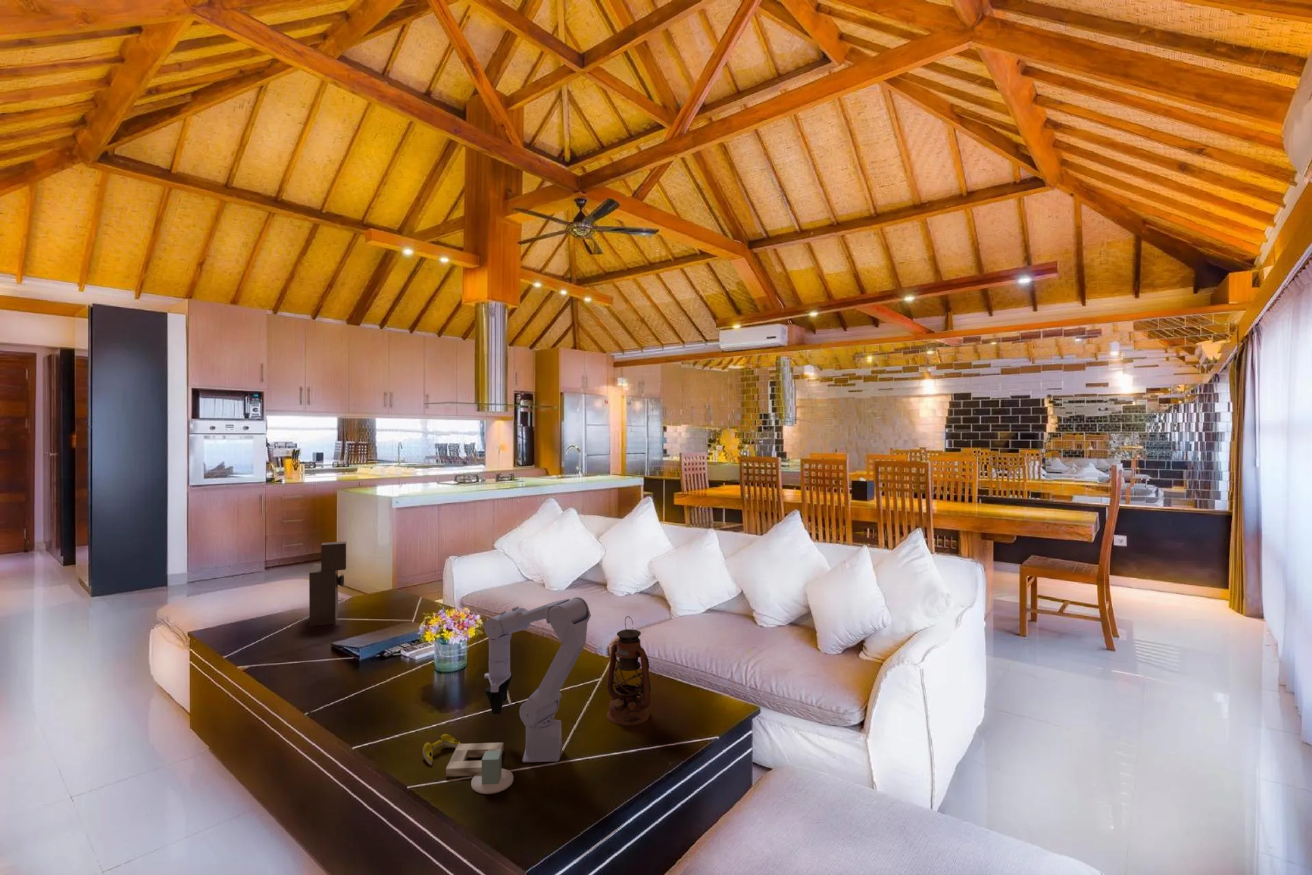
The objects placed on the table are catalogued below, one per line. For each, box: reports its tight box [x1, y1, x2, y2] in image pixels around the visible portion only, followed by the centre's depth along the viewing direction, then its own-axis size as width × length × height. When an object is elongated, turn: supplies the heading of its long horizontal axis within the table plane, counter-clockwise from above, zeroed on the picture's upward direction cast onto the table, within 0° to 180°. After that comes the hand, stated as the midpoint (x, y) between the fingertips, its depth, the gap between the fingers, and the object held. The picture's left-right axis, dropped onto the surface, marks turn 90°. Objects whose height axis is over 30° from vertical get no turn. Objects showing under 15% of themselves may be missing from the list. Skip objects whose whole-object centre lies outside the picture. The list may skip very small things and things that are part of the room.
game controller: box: [422, 733, 462, 766], centre depth 164 cm, size 10×6×4 cm, turn 148°
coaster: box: [470, 768, 514, 795], centre depth 151 cm, size 10×10×1 cm
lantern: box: [606, 615, 652, 727], centre depth 186 cm, size 17×13×30 cm
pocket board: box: [445, 742, 504, 777], centre depth 160 cm, size 12×12×2 cm
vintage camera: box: [308, 541, 347, 627], centre depth 279 cm, size 19×14×35 cm
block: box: [481, 751, 503, 784], centre depth 151 cm, size 4×4×6 cm
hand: (499, 707), depth 171 cm, fingers open, 7 cm apart
